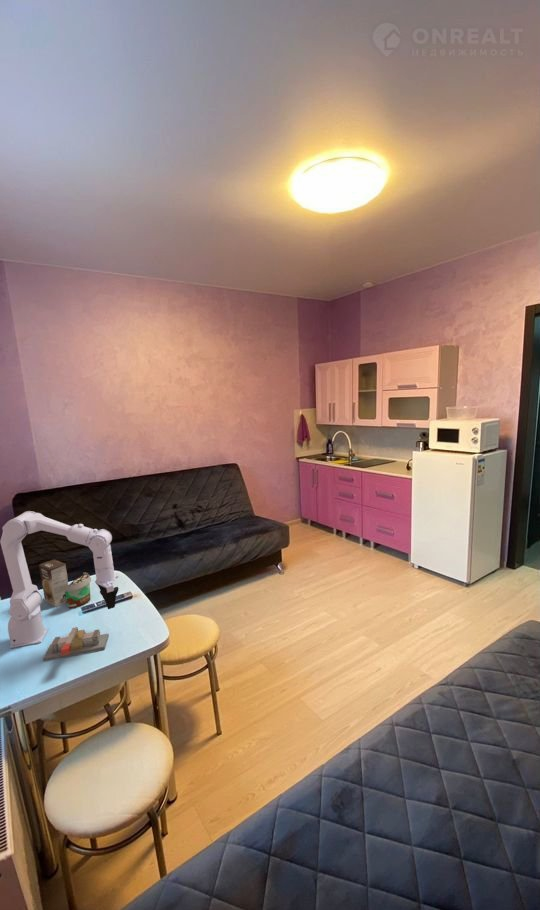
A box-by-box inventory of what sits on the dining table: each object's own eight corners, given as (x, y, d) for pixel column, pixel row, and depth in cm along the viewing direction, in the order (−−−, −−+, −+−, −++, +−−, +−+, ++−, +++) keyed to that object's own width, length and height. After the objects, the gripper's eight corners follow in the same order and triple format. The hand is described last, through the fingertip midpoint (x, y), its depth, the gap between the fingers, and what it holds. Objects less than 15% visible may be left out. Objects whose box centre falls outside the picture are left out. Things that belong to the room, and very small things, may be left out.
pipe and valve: (51, 654, 121) (49, 643, 120) (55, 646, 125) (54, 634, 125) (98, 645, 124) (97, 634, 123) (101, 637, 128) (99, 626, 128)
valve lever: (72, 633, 124) (71, 627, 124) (79, 632, 125) (78, 626, 124) (62, 656, 113) (61, 650, 113) (69, 655, 114) (68, 648, 113)
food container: (80, 611, 147) (76, 587, 145) (66, 610, 148) (62, 586, 147) (100, 594, 159) (97, 572, 157) (87, 594, 160) (84, 571, 158)
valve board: (43, 661, 119) (42, 658, 119) (50, 646, 126) (50, 644, 126) (104, 649, 123) (104, 646, 123) (108, 636, 130) (108, 633, 130)
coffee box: (44, 601, 156) (38, 564, 153) (60, 594, 161) (54, 558, 159) (55, 607, 151) (49, 569, 148) (71, 600, 156) (65, 562, 153)
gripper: (121, 570, 126) (126, 608, 128) (112, 556, 138) (116, 591, 140) (98, 576, 122) (103, 615, 124) (91, 561, 134) (96, 597, 136)
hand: (109, 603), depth 132 cm, fingers open, 7 cm apart
